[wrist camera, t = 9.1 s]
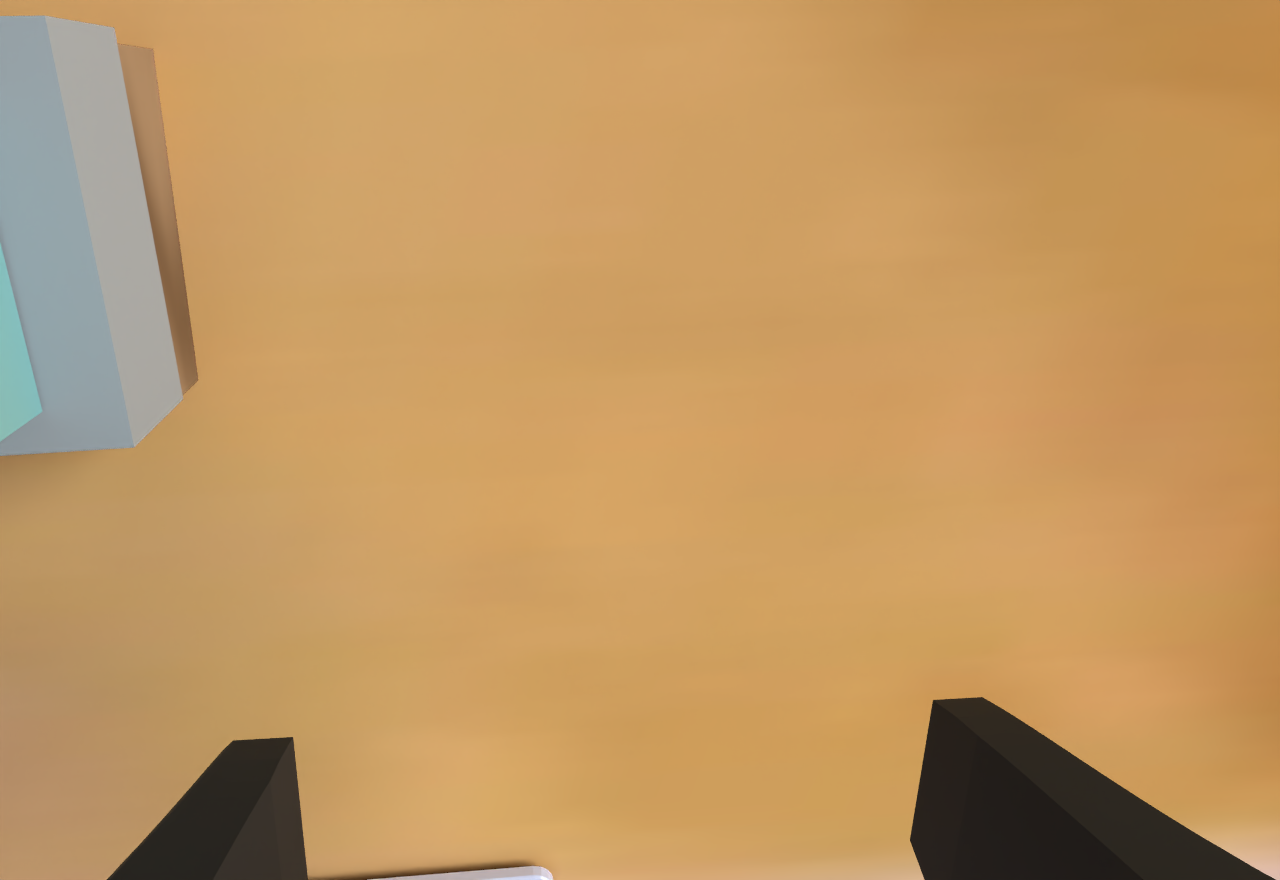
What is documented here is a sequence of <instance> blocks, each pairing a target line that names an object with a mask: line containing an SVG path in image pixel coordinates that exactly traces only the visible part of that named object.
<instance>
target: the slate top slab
mask: <svg viewBox="0 0 1280 880" xmlns="http://www.w3.org/2000/svg"><path fill="white" fill-rule="evenodd" d="M0 243H1V247H2V251H3V255H4V259H5V263H6V267H7V271H8V275H9V279H10V283H11V287H12V291H13V295H14V299H15V303H16V307H17V311H18V315H19V319H20V323H21V327H22V331H23V335H24V339H25V343H26V347H27V351H28V355H29V359H30V363H31V367H32V371H33V375H34V379H35V383H36V387H37V391H38V395H39V399H40V403H41V407H42V411H43V412H41V413H40V414H38V415H37V416H36V417H34V418H33V419H31V420H30V421H28V422H27V423H26V424H24V425H23V426H21V427H20V428H19V429H17V430H16V431H14V432H13V433H12V434H10V435H9V436H7V437H6V438H5V439H3V440H2V441H0V456H6V455H22V454H38V453H54V452H70V451H85V450H101V449H117V448H133V447H135V446H136V445H137V444H138V443H139V442H140V441H141V440H142V439H143V438H144V437H145V436H146V435H147V434H148V433H149V432H150V431H151V430H152V429H153V428H154V427H155V426H156V425H157V424H158V423H159V422H160V421H162V420H163V419H164V418H165V417H166V416H167V415H168V414H169V413H170V412H171V411H172V410H173V409H174V408H175V407H176V406H177V405H178V404H179V403H180V402H181V401H182V400H183V395H182V389H181V384H180V379H179V373H178V368H177V363H176V357H175V352H174V346H173V341H172V336H171V330H170V325H169V320H168V314H167V309H166V303H165V298H164V293H163V287H162V282H161V277H160V271H159V266H158V260H157V255H156V250H155V244H154V239H153V234H152V228H151V223H150V217H149V212H148V207H147V201H146V196H145V191H144V185H143V180H142V174H141V169H140V164H139V158H138V153H137V147H136V142H135V137H134V131H133V126H132V121H131V115H130V110H129V104H128V99H127V94H126V88H125V83H124V78H123V72H122V67H121V61H120V56H119V51H118V45H117V40H116V35H115V29H114V28H113V27H107V26H102V25H96V24H90V23H84V22H78V21H72V20H67V19H61V18H55V17H49V16H0Z"/></svg>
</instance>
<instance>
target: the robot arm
mask: <svg viewBox="0 0 1280 880" xmlns="http://www.w3.org/2000/svg"><path fill="white" fill-rule="evenodd" d="M910 841H911V844H912V847H913V850H914V852H915V855H916V858H917V860H918V863H919V866H920V868H921V871H922V874H923V877H924V879H925V880H1275V879H1274V878H1272V877H1270V876H1268V875H1266V874H1264V873H1263V872H1261V871H1259V870H1257V869H1256V868H1254V867H1252V866H1250V865H1249V864H1247V863H1245V862H1244V861H1242V860H1240V859H1238V858H1237V857H1235V856H1233V855H1232V854H1230V853H1228V852H1227V851H1225V850H1223V849H1221V848H1220V847H1218V846H1216V845H1215V844H1213V843H1211V842H1209V841H1208V840H1206V839H1204V838H1203V837H1201V836H1199V835H1198V834H1196V833H1194V832H1193V831H1191V830H1189V829H1188V828H1186V827H1184V826H1183V825H1181V824H1180V823H1178V822H1176V821H1175V820H1173V819H1172V818H1170V817H1168V816H1167V815H1165V814H1163V813H1162V812H1160V811H1159V810H1157V809H1156V808H1154V807H1152V806H1151V805H1149V804H1148V803H1146V802H1144V801H1143V800H1141V799H1140V798H1138V797H1137V796H1135V795H1134V794H1132V793H1130V792H1129V791H1127V790H1126V789H1124V788H1123V787H1121V786H1120V785H1118V784H1117V783H1115V782H1113V781H1112V780H1110V779H1109V778H1107V777H1106V776H1104V775H1103V774H1101V773H1100V772H1098V771H1097V770H1095V769H1094V768H1092V767H1091V766H1089V765H1088V764H1086V763H1085V762H1083V761H1082V760H1080V759H1079V758H1077V757H1076V756H1074V755H1073V754H1071V753H1070V752H1068V751H1066V750H1065V749H1063V748H1062V747H1060V746H1059V745H1057V744H1056V743H1054V742H1053V741H1051V740H1050V739H1048V738H1047V737H1045V736H1044V735H1042V734H1041V733H1039V732H1038V731H1036V730H1035V729H1033V728H1032V727H1030V726H1028V725H1027V724H1025V723H1024V722H1022V721H1021V720H1019V719H1018V718H1016V717H1014V716H1013V715H1011V714H1010V713H1008V712H1006V711H1005V710H1003V709H1002V708H1000V707H998V706H996V705H995V704H993V703H991V702H990V701H988V700H986V699H984V698H982V697H979V698H962V699H944V700H933V704H932V710H931V716H930V722H929V728H928V734H927V740H926V746H925V752H924V758H923V765H922V771H921V777H920V783H919V789H918V795H917V801H916V807H915V813H914V819H913V825H912V831H911V837H910ZM107 880H308V877H307V867H306V858H305V848H304V838H303V829H302V819H301V810H300V800H299V790H298V781H297V771H296V761H295V752H294V742H293V737H287V738H270V739H253V740H236V741H232V742H231V743H230V744H229V745H228V746H227V747H226V748H225V749H224V750H223V751H222V752H221V753H220V754H219V755H218V757H217V758H216V759H215V760H214V761H213V762H212V763H211V765H210V766H209V767H208V768H207V769H206V770H205V771H204V773H203V774H202V775H201V776H200V777H199V778H198V780H197V781H196V782H195V783H194V784H193V785H192V786H191V788H190V789H189V790H188V791H187V792H186V793H185V794H184V796H183V797H182V798H181V799H180V800H179V801H178V802H177V804H176V805H175V806H174V807H173V808H172V809H171V810H170V812H169V813H168V814H167V815H166V816H165V817H164V818H163V819H162V821H161V822H160V823H159V824H158V825H157V826H156V827H155V828H154V829H153V831H152V832H151V833H150V834H149V835H148V836H147V837H146V838H145V839H144V840H143V842H142V843H141V844H140V845H139V846H138V847H137V848H136V849H135V850H134V851H133V852H132V853H131V854H130V856H129V857H128V858H127V859H126V860H125V861H124V862H123V863H122V864H121V865H120V866H119V867H118V868H117V869H116V871H115V872H114V873H113V874H112V875H111V876H110V877H109V878H108V879H107ZM369 880H553V877H552V874H551V873H550V872H549V871H548V870H547V869H545V868H543V867H540V866H526V867H514V868H502V869H490V870H478V871H466V872H454V873H442V874H429V875H417V876H405V877H393V878H381V879H369Z"/></svg>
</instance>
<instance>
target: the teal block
mask: <svg viewBox="0 0 1280 880" xmlns="http://www.w3.org/2000/svg"><path fill="white" fill-rule="evenodd" d="M41 412H43V411H42V407H41V403H40V399H39V395H38V391H37V387H36V383H35V379H34V375H33V371H32V367H31V363H30V359H29V355H28V351H27V347H26V343H25V339H24V335H23V331H22V327H21V323H20V319H19V315H18V311H17V307H16V303H15V299H14V295H13V291H12V287H11V283H10V279H9V275H8V271H7V267H6V263H5V259H4V255H3V251H2V247H1V243H0V441H2V440H3V439H5V438H6V437H7V436H9V435H10V434H12V433H13V432H14V431H16V430H17V429H19V428H20V427H21V426H23V425H24V424H26V423H27V422H28V421H30V420H31V419H33V418H34V417H36V416H37V415H38V414H40V413H41Z"/></svg>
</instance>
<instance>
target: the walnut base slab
mask: <svg viewBox="0 0 1280 880" xmlns="http://www.w3.org/2000/svg"><path fill="white" fill-rule="evenodd" d="M117 45H118V51H119V56H120V61H121V67H122V72H123V78H124V83H125V88H126V94H127V99H128V104H129V110H130V115H131V121H132V126H133V131H134V137H135V142H136V147H137V153H138V158H139V164H140V169H141V174H142V180H143V185H144V191H145V196H146V201H147V207H148V212H149V217H150V223H151V228H152V234H153V239H154V244H155V250H156V255H157V260H158V266H159V271H160V277H161V282H162V287H163V293H164V298H165V303H166V309H167V314H168V320H169V325H170V330H171V336H172V341H173V346H174V352H175V357H176V363H177V368H178V373H179V379H180V384H181V389H182V395H183V394H184V393H185V392H186V391H187V390H189V389H190V388H191V387H192V386H193V385H194V384H195V383H196V382H197V381H198V374H197V366H196V359H195V352H194V345H193V337H192V330H191V323H190V315H189V308H188V301H187V293H186V286H185V279H184V271H183V264H182V257H181V250H180V242H179V235H178V228H177V220H176V213H175V206H174V198H173V191H172V184H171V177H170V169H169V162H168V155H167V147H166V140H165V133H164V125H163V118H162V111H161V103H160V96H159V89H158V82H157V74H156V67H155V60H154V52H153V49H150V48H143V47H136V46H130V45H123V44H117Z"/></svg>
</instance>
